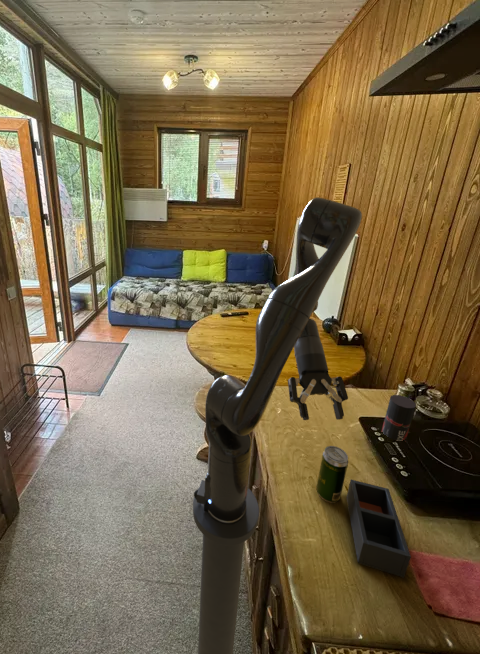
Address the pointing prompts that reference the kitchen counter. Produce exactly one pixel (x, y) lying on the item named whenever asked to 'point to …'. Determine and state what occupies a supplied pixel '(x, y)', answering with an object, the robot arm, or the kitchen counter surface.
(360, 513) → the box
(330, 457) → the beer can
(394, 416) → the deodorant
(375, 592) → the kitchen counter surface
